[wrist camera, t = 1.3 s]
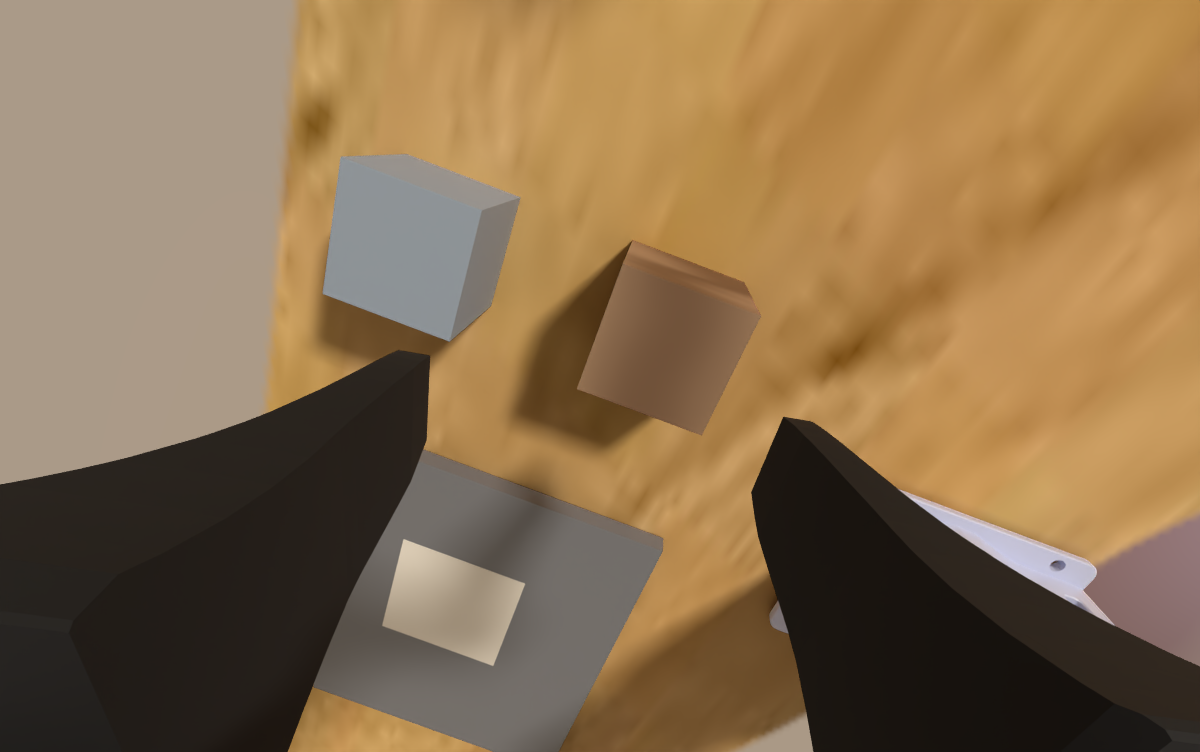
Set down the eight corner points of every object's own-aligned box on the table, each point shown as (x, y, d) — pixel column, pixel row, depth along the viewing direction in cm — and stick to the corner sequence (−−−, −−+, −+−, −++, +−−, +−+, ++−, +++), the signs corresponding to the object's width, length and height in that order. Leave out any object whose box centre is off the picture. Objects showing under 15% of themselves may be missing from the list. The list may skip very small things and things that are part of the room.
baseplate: (663, 538, 23) (662, 551, 22) (551, 755, 29) (548, 771, 29) (369, 429, 23) (358, 439, 22) (322, 673, 29) (313, 687, 28)
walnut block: (744, 281, 18) (761, 316, 15) (696, 382, 20) (701, 435, 16) (633, 239, 18) (623, 263, 15) (594, 344, 20) (576, 389, 16)
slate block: (520, 197, 18) (481, 210, 15) (491, 305, 20) (449, 341, 16) (408, 154, 18) (340, 156, 15) (388, 266, 20) (322, 293, 16)
